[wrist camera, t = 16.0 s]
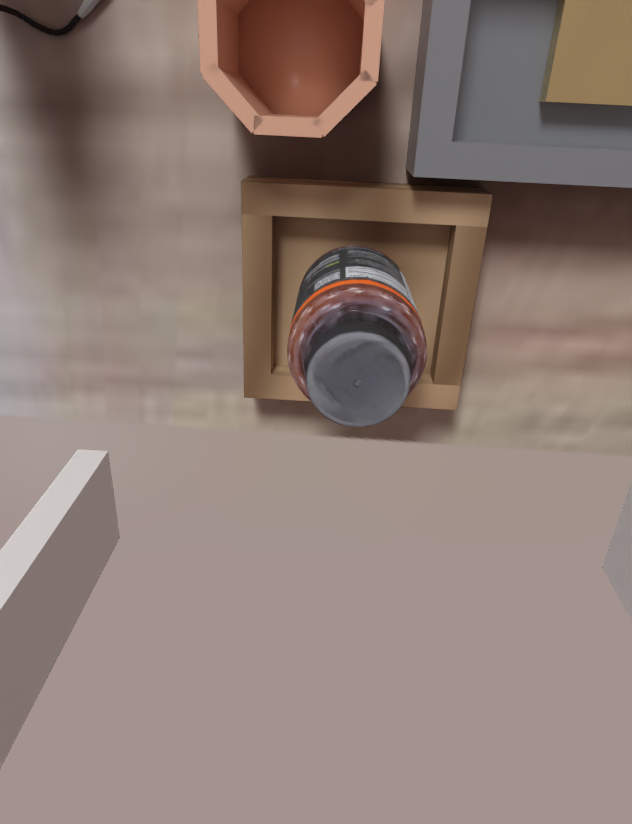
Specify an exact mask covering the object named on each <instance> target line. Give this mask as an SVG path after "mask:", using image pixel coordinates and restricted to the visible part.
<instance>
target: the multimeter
mask: <svg viewBox="0 0 632 824" xmlns="http://www.w3.org/2000/svg"><path fill="white" fill-rule="evenodd" d="M99 1H100V0H84V1H83V2H82V4H81V6H80V7H79V9H78V11H77V15H76V16H75V17H74V18H73V19H72V20H71V22H70V23H69V24H68V25H66V26H65V27H64V28H62V29H59V30H53V29H49V28H47V27H44V26H42V25H40V24H38V23H36V22H35V21H33V20H32V19H30V18H29V17H27V16H25V15H24V14H22V13H20V12H19V11H17V10H15V9H12V8H10V7H7V6H4V5H0V11H3V12H7V13H9V14H12V15H15V16H17V17H19V18H20V19H22V20H24V21H25V22H27V23H28V24H30V25H31V26H33V27H35V28H37V29H38V30H40V31H42V32H45V33H47V34H50V35H55V36H59V35H64V34H67V33H68V32H69V31H71V30H72V29H73V28H74V27H75V26H76V25H77V24H78V22H79V21H80V20H81V19H83V18H84V17H85V16H87V15H88V14H89V13H90V12H91V11H92V10H93V9H94V7H95V6H96V5H97V4H98V2H99Z"/></svg>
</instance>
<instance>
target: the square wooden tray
mask: <svg viewBox="0 0 632 824" xmlns="http://www.w3.org/2000/svg"><path fill="white" fill-rule="evenodd" d="M241 195H242V270H243V345H244V397H245V398H262V399H279V400H296V401H310V400H309V399H308V398H307V397H306V396H305V395H304V394H303V393H302V392H301V390H300V389H299V388H298V386H297V384H296V383H295V381H294V379H293V377H292V374H291V371H290V368H289V364H288V358H287V346H288V338H289V332H290V327H291V322H292V318H293V314H294V310H295V305H296V301H297V297H298V292H299V288H300V285H301V282H302V280H303V277H304V276H305V274H306V272H307V270H308V269H309V267H310V266H311V265H312V264H313V263H314V262H315V261H316V260H317V259H318V258H319V257H321V256H322V255H323V254H325V253H327V252H328V251H331V250H332V249H335V248H338V247H342V246H346V245H363V246H368V247H371V248H374V249H377V250H379V251H381V252H382V253H384V254H386V255H387V256H388V257H390V258H391V259H392V260H393V261H394V262H395V263H396V264H397V265H398V267H399V269H400V270H401V272H402V274H403V275H404V277H405V279H406V282H407V284H408V286H409V289H410V292H411V295H412V297H413V300H414V302H415V306H416V308H417V311H418V314H419V316H420V319H421V322H422V326H423V329H424V332H425V337H426V346H427V358H426V363H425V368H424V371H423V373H422V376H421V378H420V380H419V382H418V384H417V385H416V387H415V388H414V389H413V391H412V392H411V393H410V394H409V395H408V396H407V398H406V400H405V401H404V403H403V405H402V406H401V407H413V408H430V409H447V410H457V404H458V398H459V393H460V387H461V381H462V375H463V369H464V363H465V357H466V351H467V345H468V339H469V333H470V327H471V321H472V315H473V310H474V304H475V298H476V292H477V286H478V280H479V274H480V268H481V262H482V256H483V250H484V244H485V238H486V233H487V227H488V221H489V215H490V209H491V203H492V197H493V194H491V193H490V192H488V191H486V190H485V189H483V188H472V187H452V186H433V185H413V184H394V183H374V182H354V181H335V180H315V179H296V178H276V177H257V176H248V177H247V178H246V179H244V180H243V181H242V182H241Z"/></svg>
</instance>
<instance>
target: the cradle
mask: <svg viewBox="0 0 632 824" xmlns="http://www.w3.org/2000/svg"><path fill="white" fill-rule="evenodd" d="M558 1H559V0H423V7H422V17H421V26H420V36H419V46H418V55H417V65H416V75H415V84H414V94H413V104H412V113H411V123H410V132H409V142H408V152H407V161H406V169H407V170H408V171H409V172H410V174H411V175H412V176H413V177H427V178H446V179H466V180H486V181H505V182H525V183H545V184H564V185H584V186H604V187H623V188H632V106H619V105H598V104H577V103H556V102H539V101H540V95H541V90H542V85H543V80H544V74H545V69H546V64H547V59H548V53H549V48H550V43H551V37H552V32H553V27H554V22H555V16H556V11H557V6H558Z"/></svg>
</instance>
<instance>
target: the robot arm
mask: <svg viewBox="0 0 632 824" xmlns="http://www.w3.org/2000/svg"><path fill="white" fill-rule="evenodd" d="M119 538H120V535H119V528H118V521H117V514H116V506H115V499H114V492H113V484H112V477H111V469H110V462H109V454H108V451H96V450H95V451H94V450H79V449H78V450H77V452H76V453H75V454H74V456H73V457H72V458H71V459H70V461H69V462H68V463H67V464H66V466H65V467H64V468H63V470H62V471H61V472H60V474H59V475H58V476H57V478H56V479H55V480H54V481H53V483H52V484H51V485H50V487H49V488H48V489H47V491H46V492H45V493H44V495H43V496H42V497H41V498H40V500H39V501H38V502H37V503H36V505H35V506H34V507H33V509H32V510H31V511H30V513H29V514H28V515H27V517H26V518H25V519H24V520H23V522H22V523H21V524H20V526H19V527H18V528H17V530H16V531H15V532H14V533H13V535H12V536H11V537H10V539H9V540H8V541H7V543H6V544H5V545H4V546H3V548H2V549H1V550H0V768H1V766H2V764H3V762H4V761H5V759H6V757H7V755H8V753H9V751H10V749H11V747H12V745H13V743H14V741H15V739H16V737H17V735H18V733H19V731H20V730H21V728H22V726H23V724H24V722H25V720H26V718H27V716H28V714H29V712H30V710H31V708H32V706H33V704H34V702H35V700H36V699H37V697H38V695H39V693H40V691H41V689H42V687H43V685H44V683H45V681H46V679H47V677H48V675H49V673H50V672H51V670H52V668H53V666H54V664H55V662H56V660H57V658H58V656H59V654H60V652H61V650H62V648H63V646H64V644H65V643H66V641H67V639H68V637H69V635H70V633H71V631H72V629H73V627H74V625H75V623H76V621H77V619H78V617H79V615H80V614H81V612H82V609H83V608H84V606H85V604H86V602H87V600H88V598H89V596H90V594H91V592H92V590H93V588H94V586H95V584H96V582H97V581H98V579H99V577H100V575H101V573H102V571H103V569H104V567H105V565H106V563H107V561H108V559H109V557H110V555H111V553H112V552H113V550H114V548H115V546H116V544H117V542H118V540H119ZM602 568H603V569H604V571H605V573H606V575H607V577H608V578H609V580H610V582H611V584H612V586H613V587H614V589H615V591H616V593H617V594H618V596H619V598H620V600H621V602H622V603H623V605H624V607H625V609H626V611H627V612H628V614H629V616H630V618H631V620H632V482H631V484H630V488H629V490H628V493H627V496H626V499H625V502H624V505H623V508H622V511H621V514H620V517H619V520H618V523H617V526H616V529H615V531H614V534H613V537H612V540H611V543H610V546H609V549H608V552H607V555H606V558H605V561H604V564H603V567H602Z"/></svg>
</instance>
